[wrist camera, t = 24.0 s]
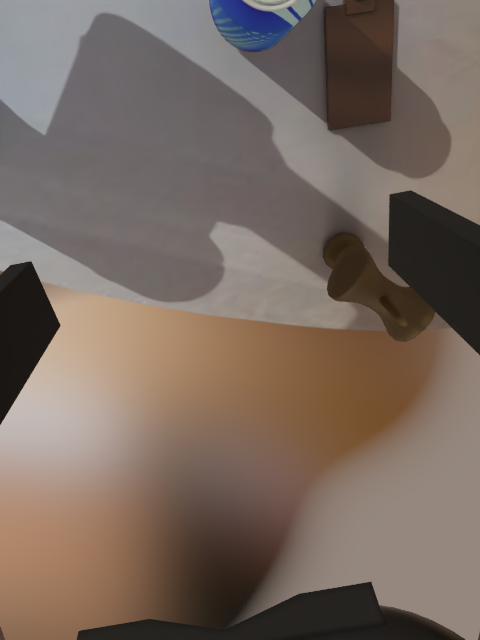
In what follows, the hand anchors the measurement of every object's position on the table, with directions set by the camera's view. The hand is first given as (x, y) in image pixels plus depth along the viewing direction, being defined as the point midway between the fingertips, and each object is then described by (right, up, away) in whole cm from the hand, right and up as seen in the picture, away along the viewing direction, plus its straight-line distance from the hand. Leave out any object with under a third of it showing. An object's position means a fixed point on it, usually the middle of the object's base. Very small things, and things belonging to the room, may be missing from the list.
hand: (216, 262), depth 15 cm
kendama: (+14, +7, +38) cm, 41 cm away
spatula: (+12, +31, +25) cm, 41 cm away
